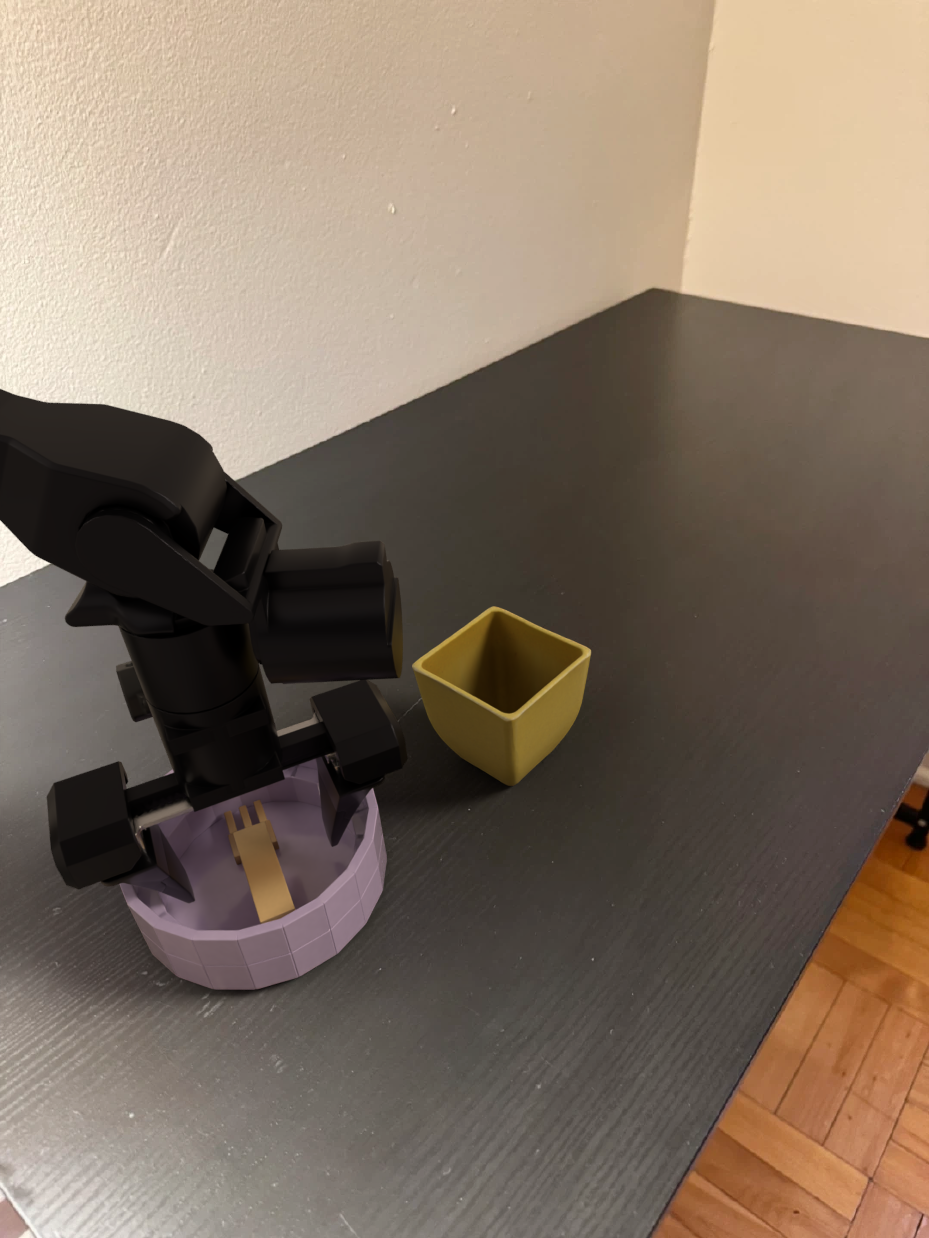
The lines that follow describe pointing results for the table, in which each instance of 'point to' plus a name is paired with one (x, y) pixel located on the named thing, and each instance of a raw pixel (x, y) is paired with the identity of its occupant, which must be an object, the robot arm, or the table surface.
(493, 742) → the flower pot
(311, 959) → the bowl
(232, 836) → the fork
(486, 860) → the table surface
